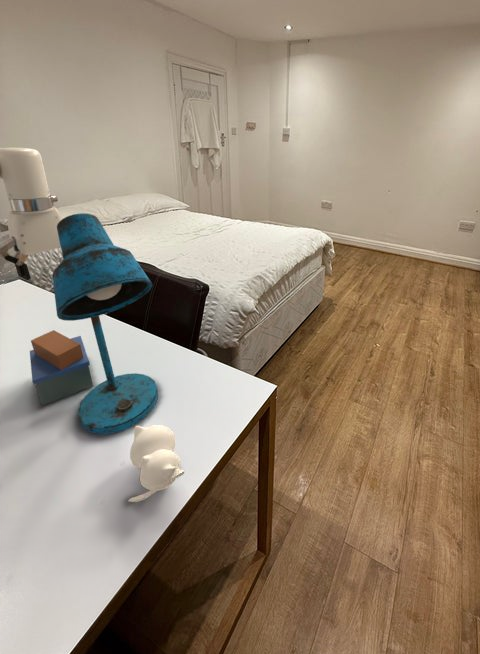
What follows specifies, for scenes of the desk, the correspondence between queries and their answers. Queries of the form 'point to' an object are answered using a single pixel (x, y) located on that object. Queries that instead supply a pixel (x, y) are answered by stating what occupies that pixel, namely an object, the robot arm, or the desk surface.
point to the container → (60, 376)
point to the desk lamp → (97, 299)
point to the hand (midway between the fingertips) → (48, 271)
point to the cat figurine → (155, 458)
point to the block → (57, 349)
